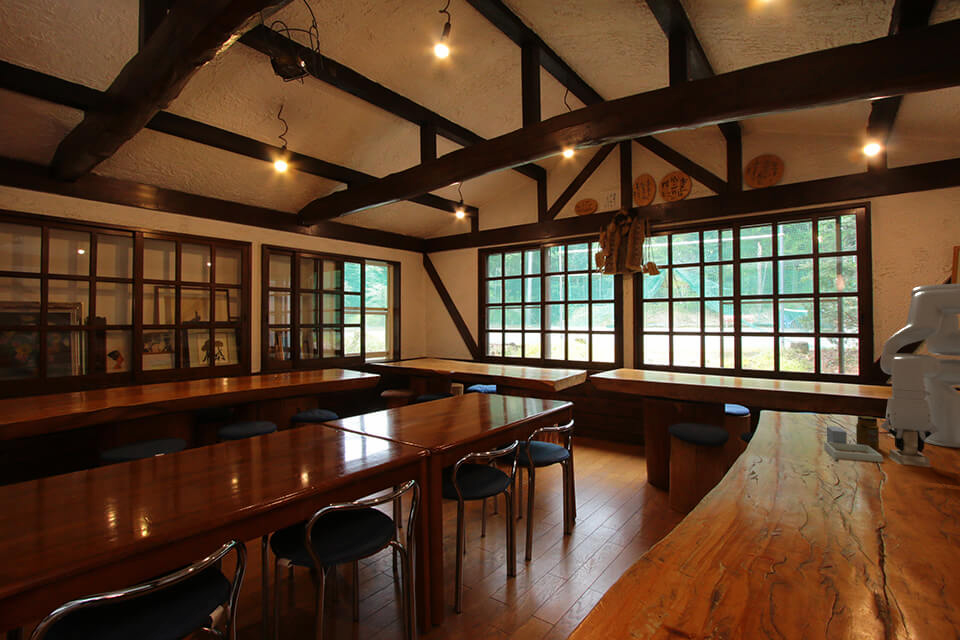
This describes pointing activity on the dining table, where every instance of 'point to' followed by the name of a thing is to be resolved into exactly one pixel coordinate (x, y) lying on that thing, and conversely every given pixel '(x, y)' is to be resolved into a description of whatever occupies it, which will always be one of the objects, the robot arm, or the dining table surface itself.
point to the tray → (831, 447)
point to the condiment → (867, 432)
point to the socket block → (909, 459)
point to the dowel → (910, 443)
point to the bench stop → (836, 435)
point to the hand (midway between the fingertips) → (909, 449)
